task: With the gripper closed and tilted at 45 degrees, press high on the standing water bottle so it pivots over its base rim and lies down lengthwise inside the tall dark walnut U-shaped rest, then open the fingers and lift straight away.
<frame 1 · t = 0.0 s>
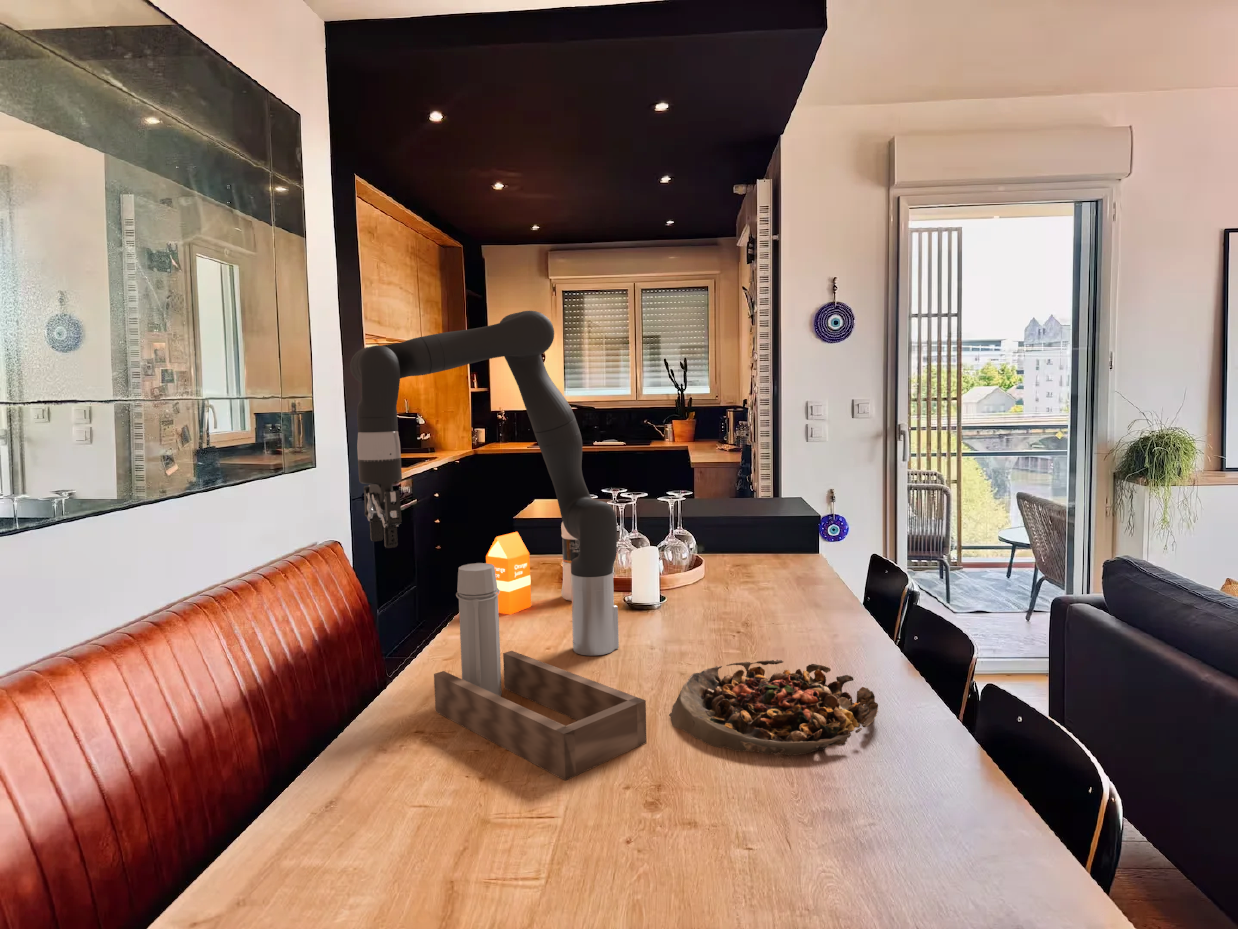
hand: (383, 544, 143), 29 cm above the table, tool pointing down, fingers open, 8 cm apart
food dish: (770, 717, 135), on the table
vodka: (578, 598, 215), on the table
orange juice: (509, 609, 206), on the table
bottle rest: (528, 723, 133), on the table
water bottle: (481, 702, 143), on the table
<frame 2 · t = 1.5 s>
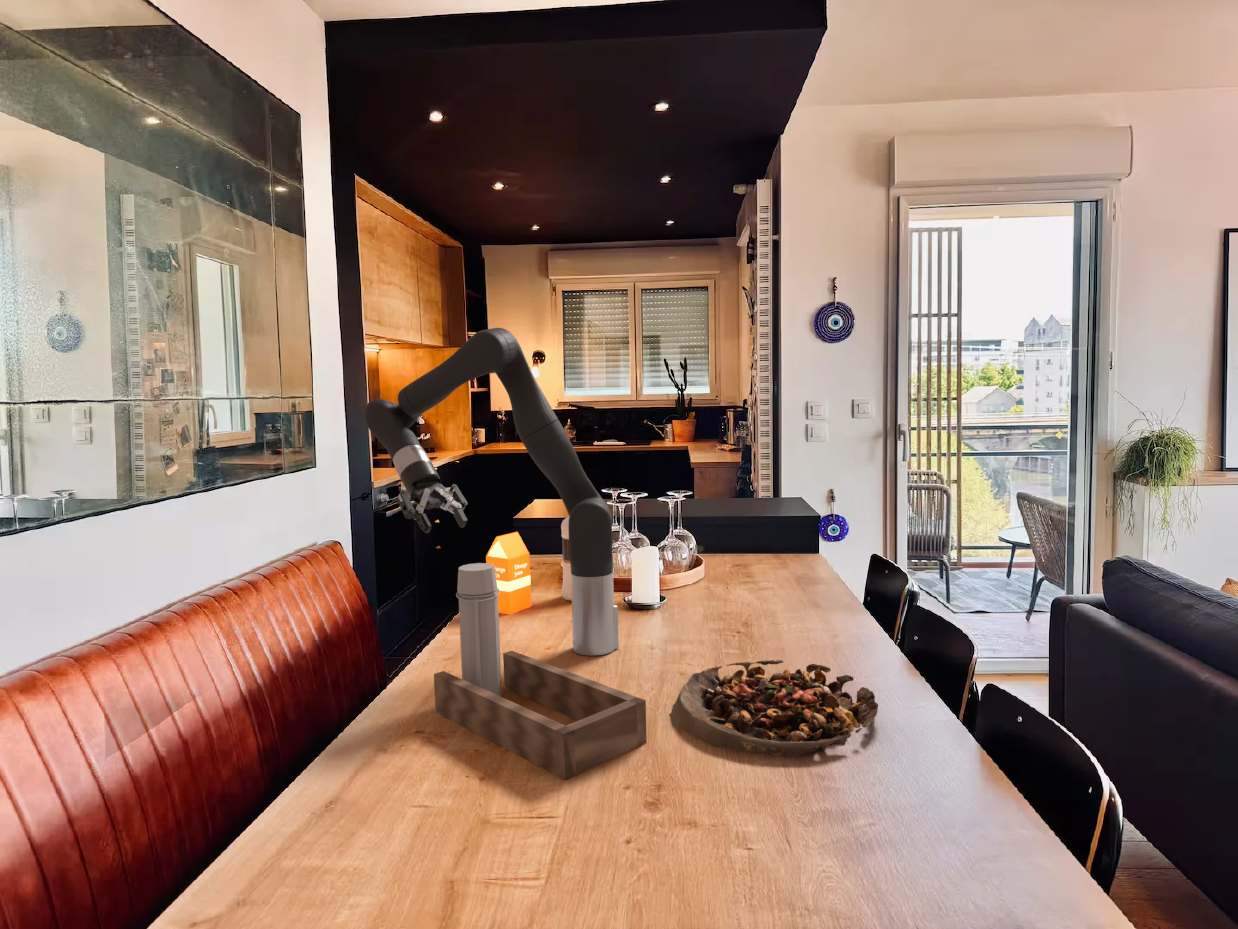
hand: (446, 528, 163), 29 cm above the table, tool tilted 45°, fingers open, 8 cm apart
nothing on the table moved.
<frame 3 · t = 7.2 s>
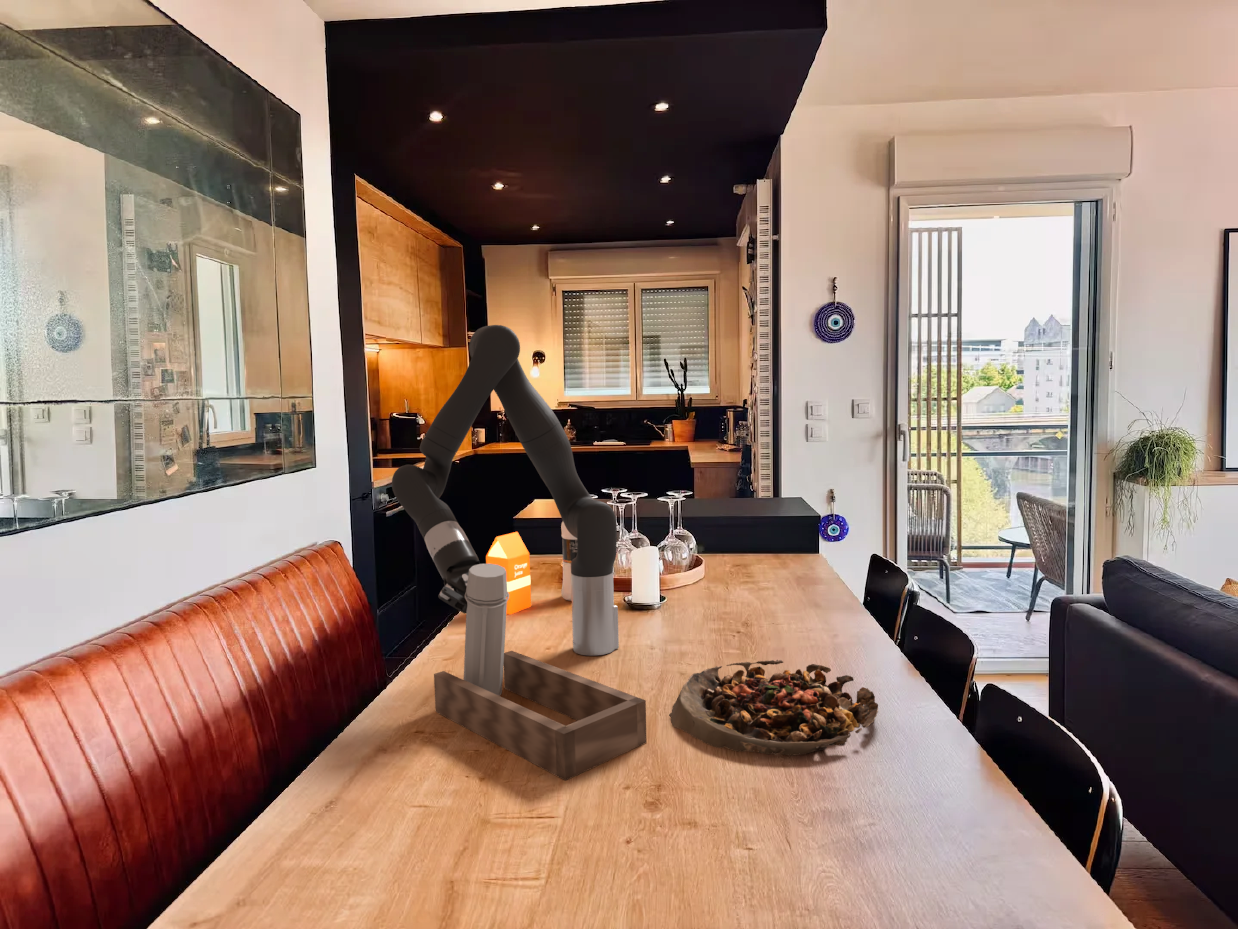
hand: (490, 626, 139), 15 cm above the table, tool tilted 45°, fingers closed
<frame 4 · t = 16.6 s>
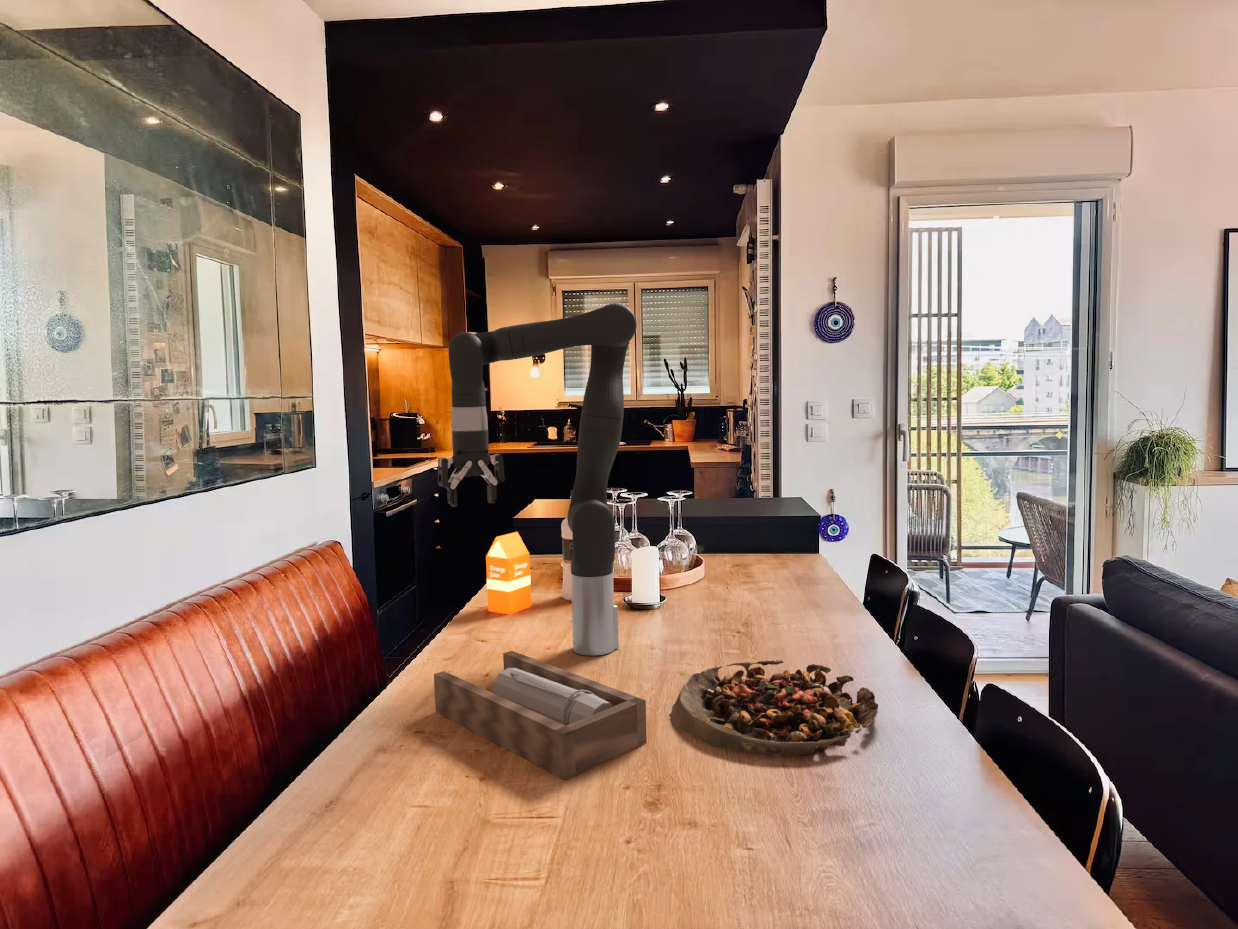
hand: (472, 504, 166), 33 cm above the table, tool pointing down, fingers open, 8 cm apart
water bottle: (502, 682, 141), point 4 cm above the table, touching bottle rest
everything else where it was.
at the end: water bottle tilted 90°; water bottle inside the target area on the bottle rest (7.8 cm from its centre), point 4.4 cm above the bottle rest's base; the gripper is holding nothing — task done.
